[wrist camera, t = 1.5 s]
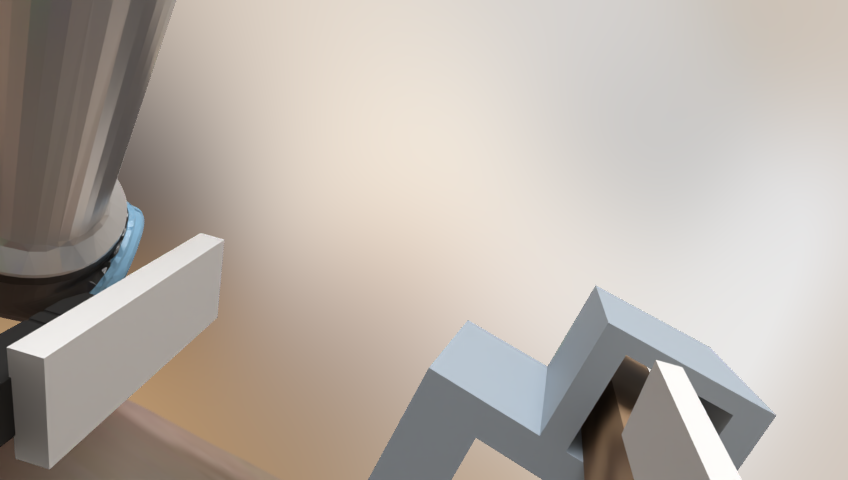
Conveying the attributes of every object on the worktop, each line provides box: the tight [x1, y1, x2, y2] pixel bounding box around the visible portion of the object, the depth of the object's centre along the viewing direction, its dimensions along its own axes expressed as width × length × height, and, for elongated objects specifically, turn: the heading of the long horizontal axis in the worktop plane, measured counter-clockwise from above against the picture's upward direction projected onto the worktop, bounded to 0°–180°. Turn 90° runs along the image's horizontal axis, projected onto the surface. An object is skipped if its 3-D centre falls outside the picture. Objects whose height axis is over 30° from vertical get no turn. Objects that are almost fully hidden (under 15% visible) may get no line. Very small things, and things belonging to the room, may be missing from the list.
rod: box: [581, 355, 650, 480], centre depth 29 cm, size 24×4×4 cm, turn 164°
